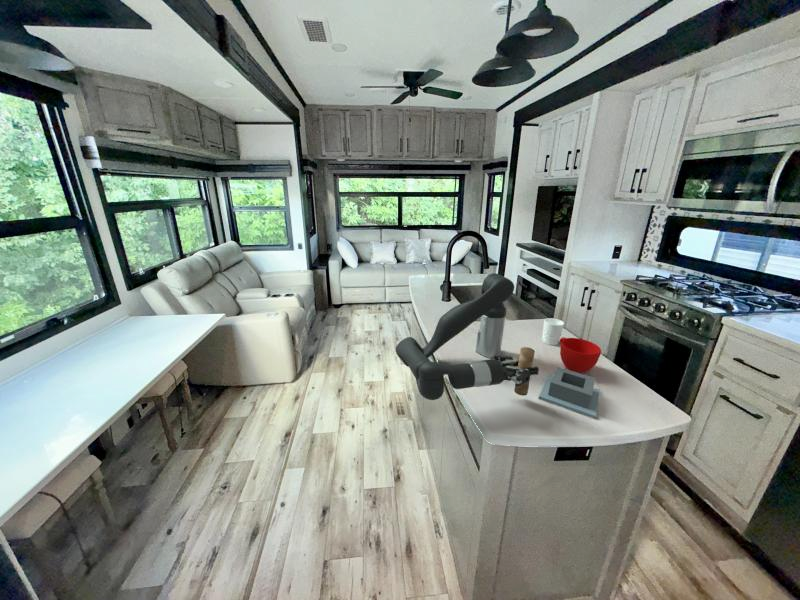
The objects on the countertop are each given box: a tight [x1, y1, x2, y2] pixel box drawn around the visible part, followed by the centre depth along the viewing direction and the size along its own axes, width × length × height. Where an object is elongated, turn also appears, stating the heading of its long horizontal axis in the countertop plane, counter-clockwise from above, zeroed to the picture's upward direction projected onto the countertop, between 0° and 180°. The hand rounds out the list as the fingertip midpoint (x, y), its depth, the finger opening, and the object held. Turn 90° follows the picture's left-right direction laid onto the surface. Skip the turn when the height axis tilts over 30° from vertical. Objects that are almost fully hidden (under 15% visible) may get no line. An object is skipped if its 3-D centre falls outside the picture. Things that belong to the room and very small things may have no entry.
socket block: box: [538, 366, 601, 420], centre depth 101 cm, size 16×16×6 cm
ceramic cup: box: [559, 337, 602, 374], centre depth 118 cm, size 13×17×10 cm
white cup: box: [541, 317, 565, 346], centre depth 137 cm, size 8×8×10 cm
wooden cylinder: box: [514, 346, 536, 396], centre depth 96 cm, size 4×4×15 cm
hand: (532, 366), depth 96 cm, fingers closed on wooden cylinder, 4 cm apart
